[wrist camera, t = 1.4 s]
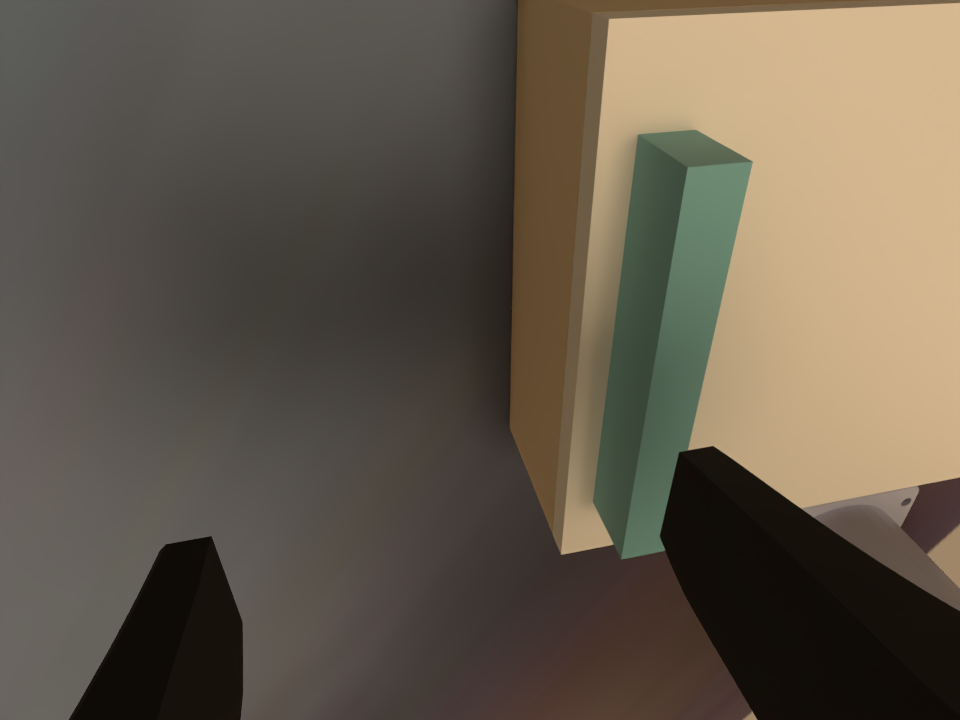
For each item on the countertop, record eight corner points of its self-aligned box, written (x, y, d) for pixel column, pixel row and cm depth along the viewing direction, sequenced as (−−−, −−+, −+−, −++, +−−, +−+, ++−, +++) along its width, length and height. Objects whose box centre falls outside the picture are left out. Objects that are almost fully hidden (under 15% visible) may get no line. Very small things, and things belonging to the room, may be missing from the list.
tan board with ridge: (1077, 404, 25) (1200, 483, 21) (539, 500, 21) (584, 613, 18) (1354, -29, 17) (1620, -13, 13) (567, 3, 13) (660, 37, 10)
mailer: (974, 354, 27) (1090, 431, 23) (509, 427, 24) (552, 532, 20) (1170, -37, 20) (1396, -23, 15) (518, -14, 16) (591, 12, 12)
